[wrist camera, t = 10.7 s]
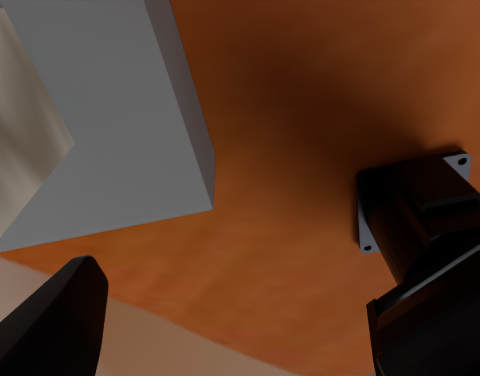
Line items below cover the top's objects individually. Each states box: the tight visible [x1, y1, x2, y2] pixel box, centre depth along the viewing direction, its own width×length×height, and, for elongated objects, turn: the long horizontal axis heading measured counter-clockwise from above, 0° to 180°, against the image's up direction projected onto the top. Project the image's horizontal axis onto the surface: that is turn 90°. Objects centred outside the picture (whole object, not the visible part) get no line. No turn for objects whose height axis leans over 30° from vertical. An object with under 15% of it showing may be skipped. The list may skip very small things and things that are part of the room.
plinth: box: [0, 0, 216, 252], centre depth 15 cm, size 14×14×5 cm
